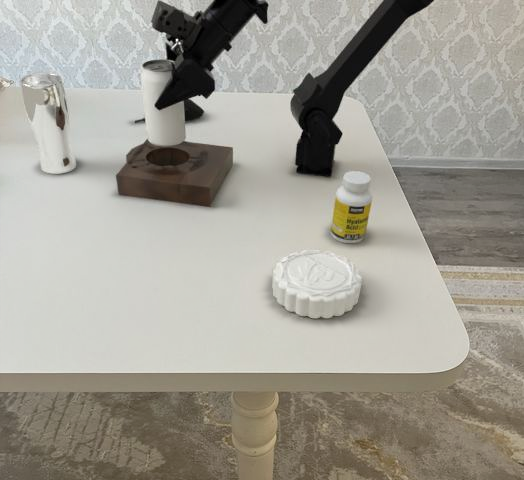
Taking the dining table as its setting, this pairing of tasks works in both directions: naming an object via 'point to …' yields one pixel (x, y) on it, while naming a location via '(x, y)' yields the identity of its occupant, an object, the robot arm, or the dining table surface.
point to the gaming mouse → (188, 111)
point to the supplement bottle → (352, 208)
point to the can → (168, 119)
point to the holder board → (175, 172)
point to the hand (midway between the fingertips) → (155, 100)
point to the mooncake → (316, 283)
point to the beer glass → (49, 120)
